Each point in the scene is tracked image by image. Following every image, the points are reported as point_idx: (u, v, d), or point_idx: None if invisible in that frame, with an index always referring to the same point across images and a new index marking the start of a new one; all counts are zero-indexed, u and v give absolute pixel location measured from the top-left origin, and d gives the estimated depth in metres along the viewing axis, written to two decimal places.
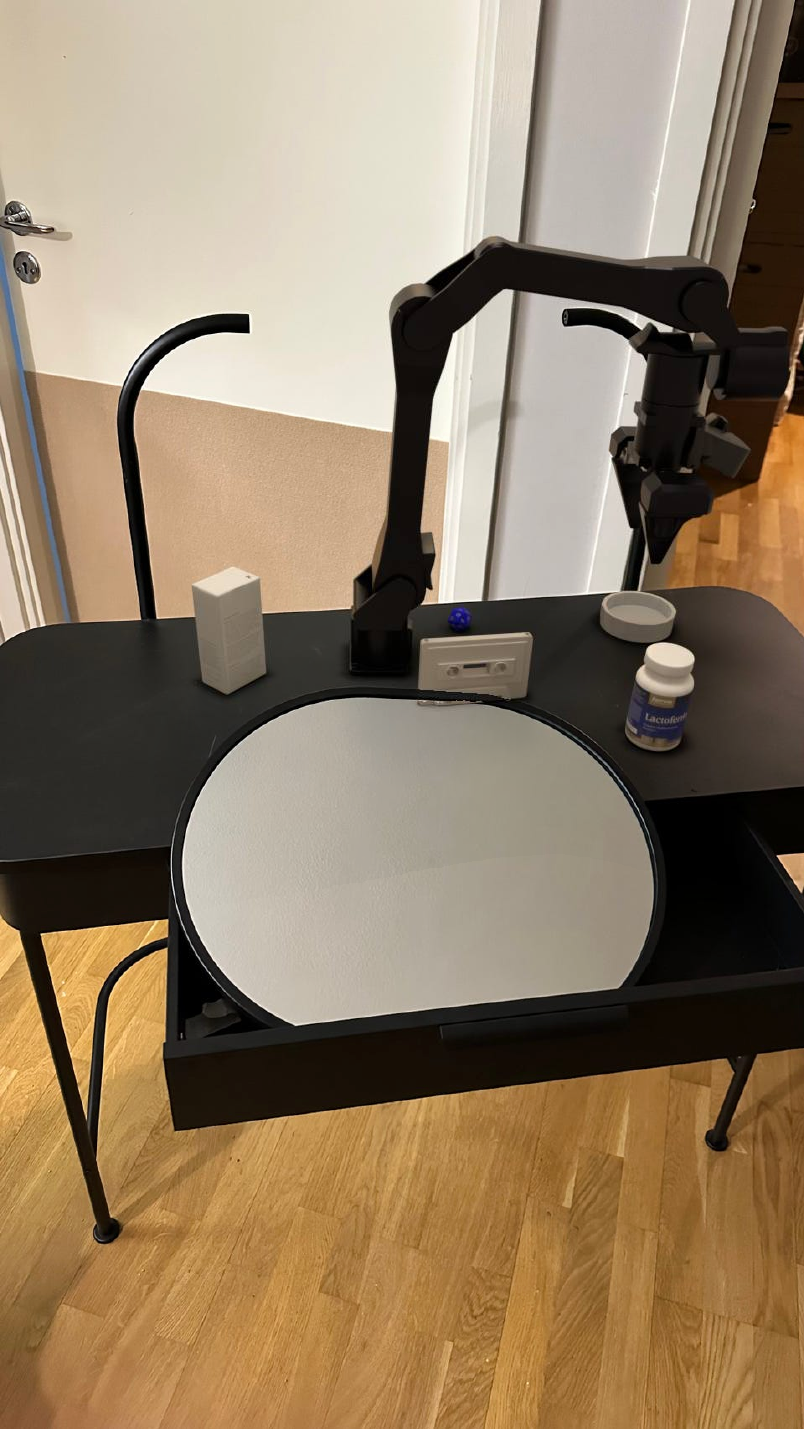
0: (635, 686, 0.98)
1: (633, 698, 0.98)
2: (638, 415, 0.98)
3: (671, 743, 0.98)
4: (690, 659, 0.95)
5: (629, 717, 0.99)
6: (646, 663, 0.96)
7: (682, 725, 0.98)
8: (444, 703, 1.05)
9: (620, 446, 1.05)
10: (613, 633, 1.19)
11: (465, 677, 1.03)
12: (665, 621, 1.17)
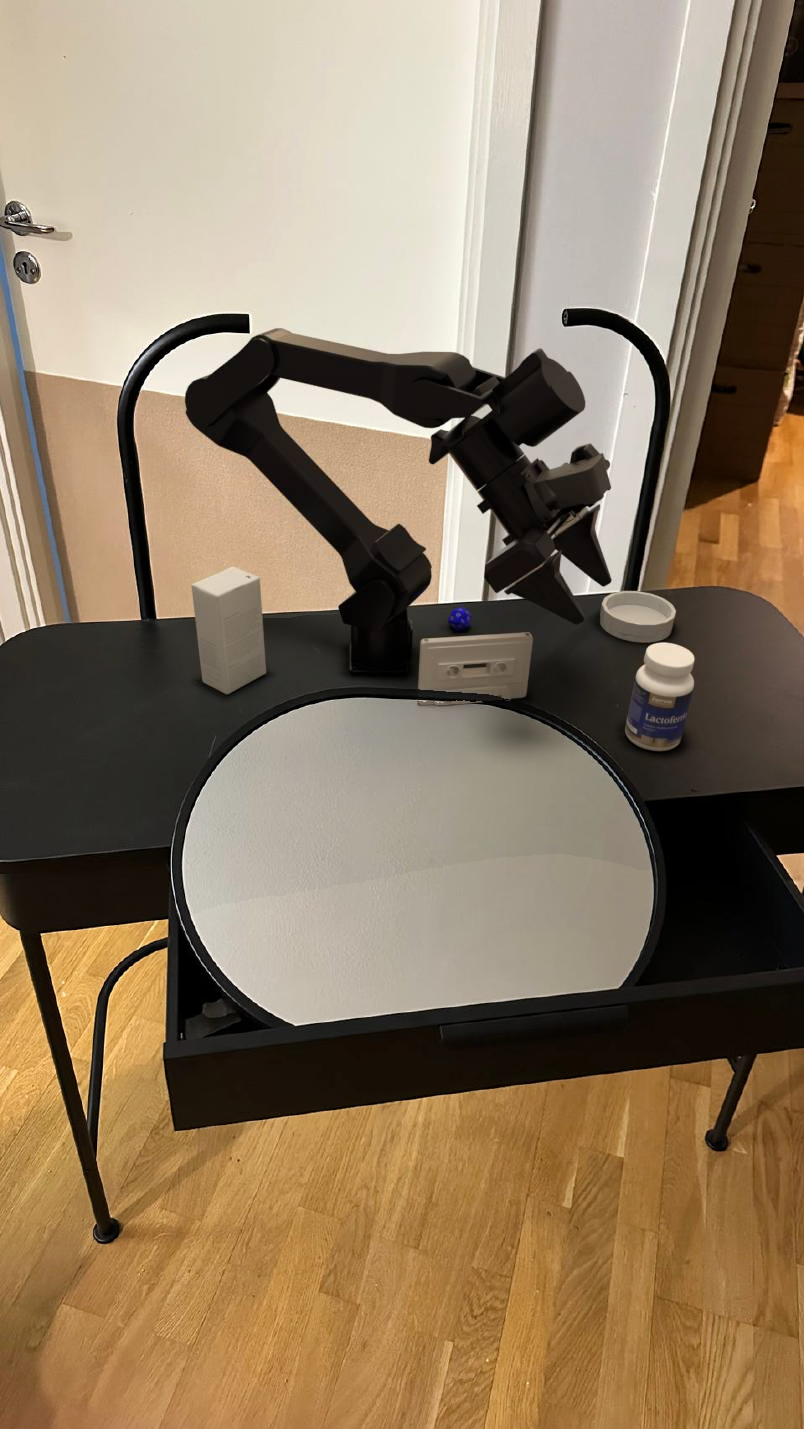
0: (635, 686, 0.98)
1: (633, 698, 0.98)
2: None
3: (671, 743, 0.98)
4: (690, 659, 0.95)
5: (629, 717, 0.99)
6: (646, 663, 0.96)
7: (682, 725, 0.98)
8: (444, 703, 1.05)
9: None
10: (613, 633, 1.19)
11: (465, 677, 1.03)
12: (665, 621, 1.17)
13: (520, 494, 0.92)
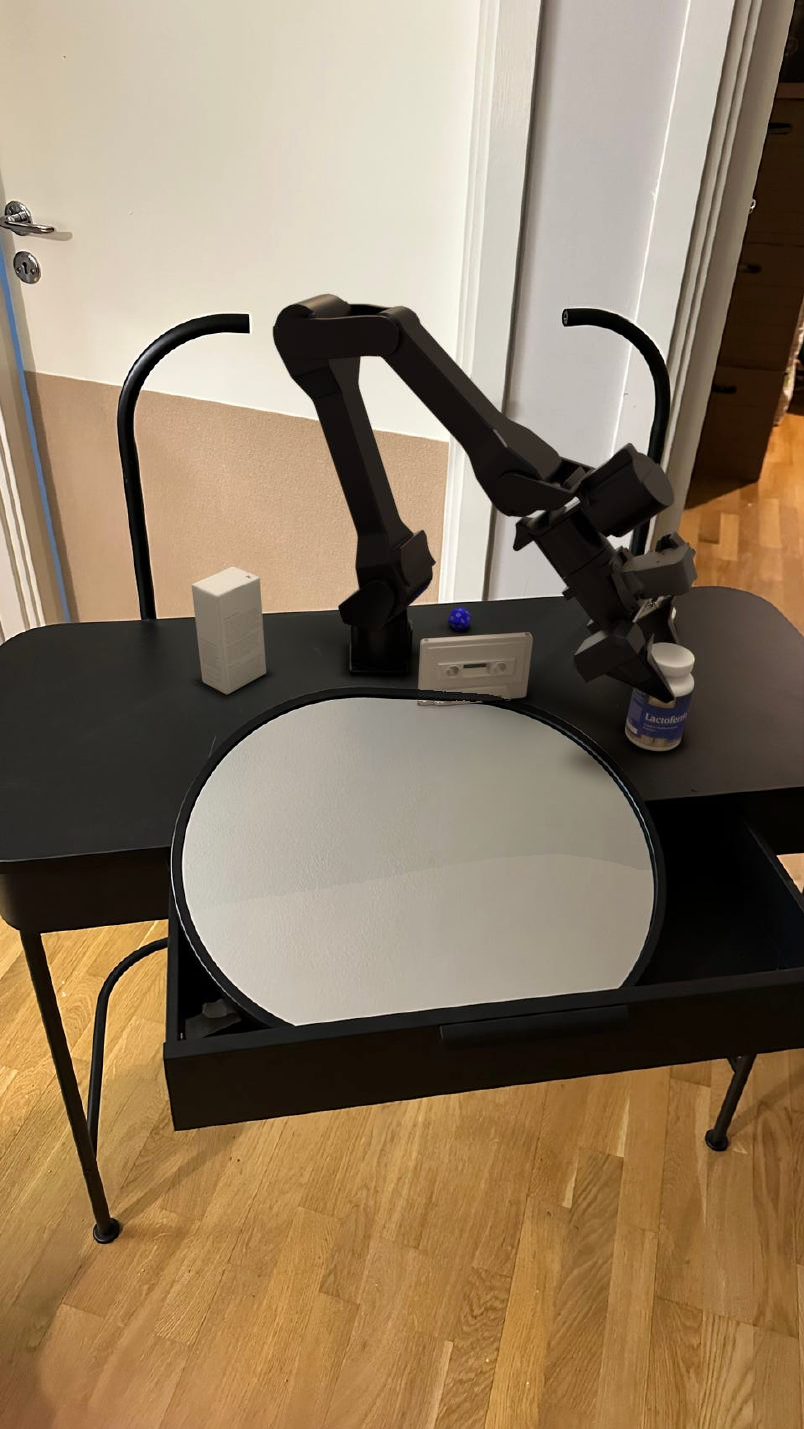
0: None
1: (633, 698, 0.98)
2: None
3: (671, 743, 0.98)
4: (690, 659, 0.95)
5: (629, 717, 0.99)
6: None
7: (682, 725, 0.98)
8: (444, 703, 1.05)
9: None
10: None
11: (465, 677, 1.03)
12: None
13: (607, 583, 0.92)
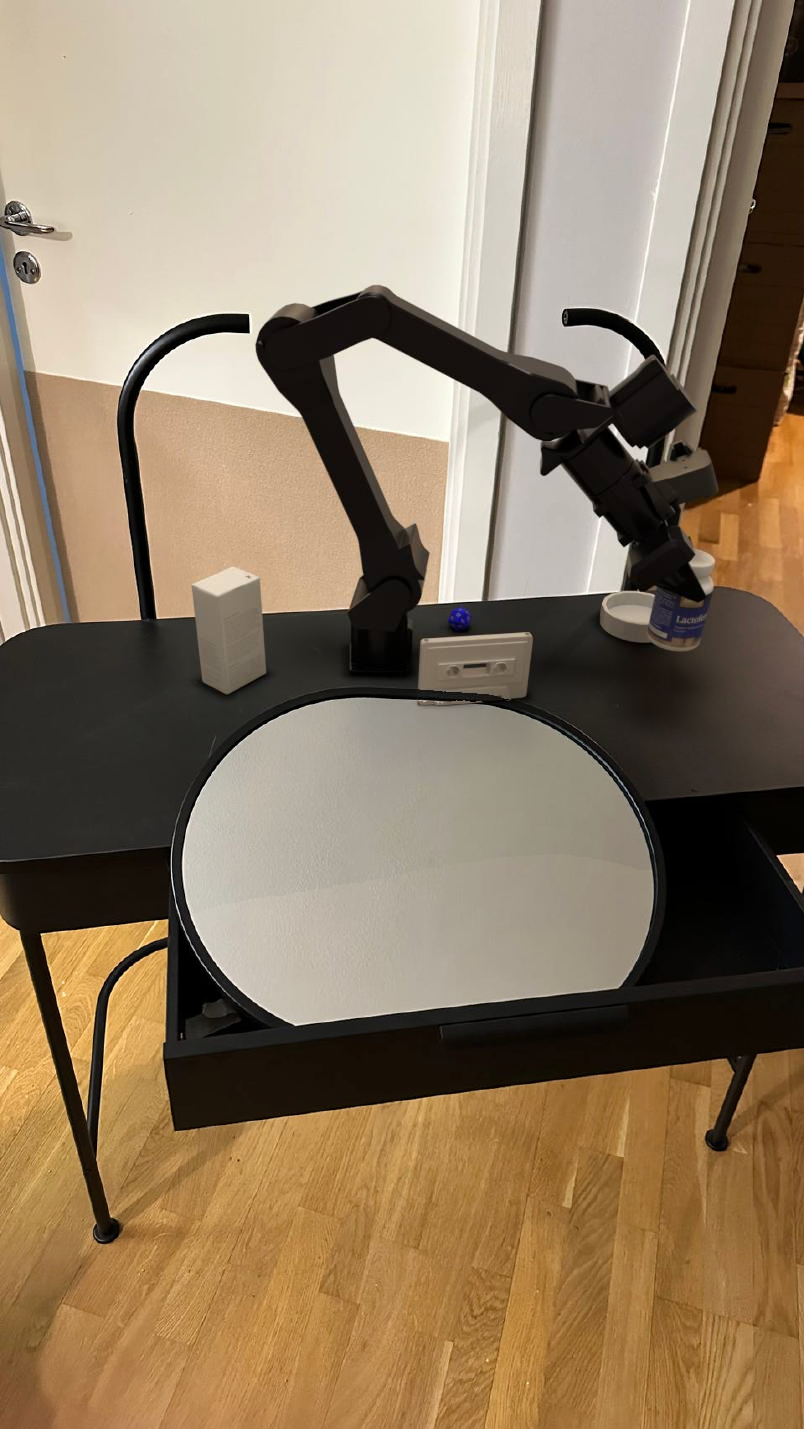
0: (662, 592, 1.02)
1: (660, 604, 1.03)
2: None
3: (697, 641, 1.04)
4: (711, 558, 1.01)
5: (655, 624, 1.04)
6: None
7: (704, 623, 1.04)
8: (444, 703, 1.05)
9: None
10: (613, 633, 1.19)
11: (465, 677, 1.03)
12: None
13: (640, 495, 0.96)
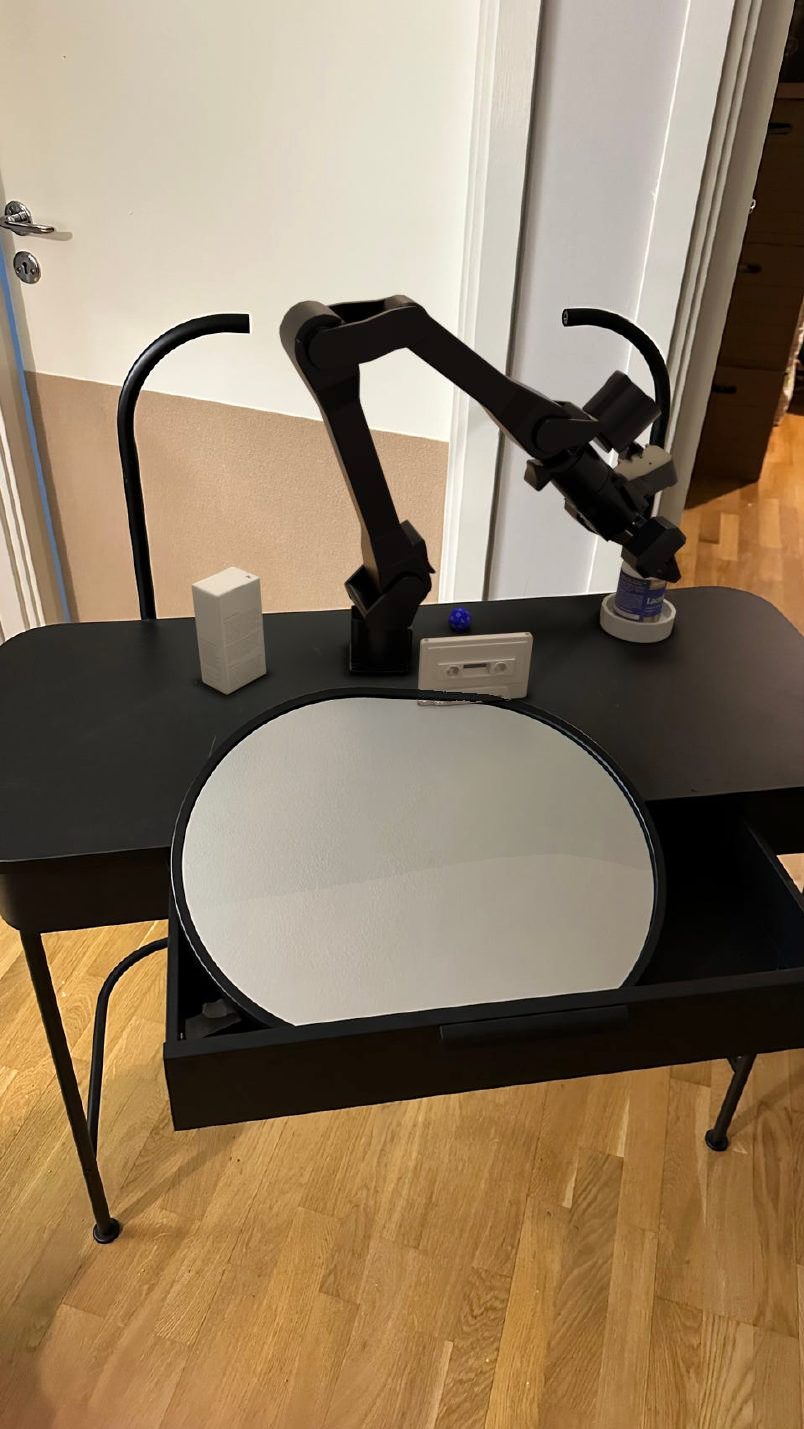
0: (631, 581, 1.16)
1: (630, 591, 1.16)
2: (575, 509, 1.10)
3: None
4: None
5: (626, 609, 1.18)
6: None
7: None
8: (444, 703, 1.05)
9: (579, 518, 1.17)
10: (613, 633, 1.19)
11: (465, 677, 1.03)
12: (665, 621, 1.17)
13: (620, 494, 1.07)
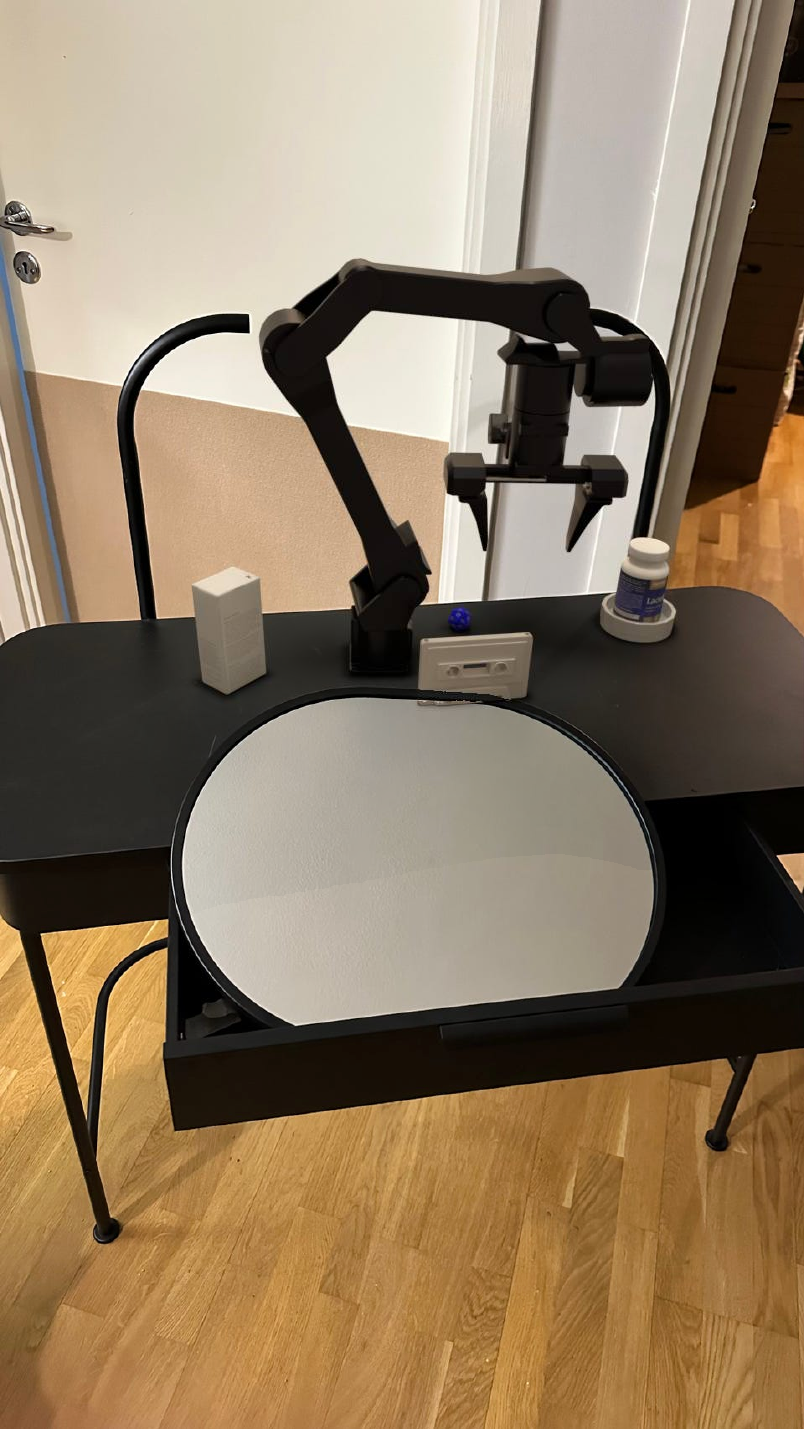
0: (631, 581, 1.16)
1: (630, 591, 1.16)
2: (540, 434, 0.97)
3: None
4: (663, 543, 1.16)
5: (626, 609, 1.18)
6: (640, 558, 1.14)
7: None
8: (444, 703, 1.05)
9: None
10: (613, 633, 1.19)
11: (465, 677, 1.03)
12: (665, 621, 1.17)
13: None
